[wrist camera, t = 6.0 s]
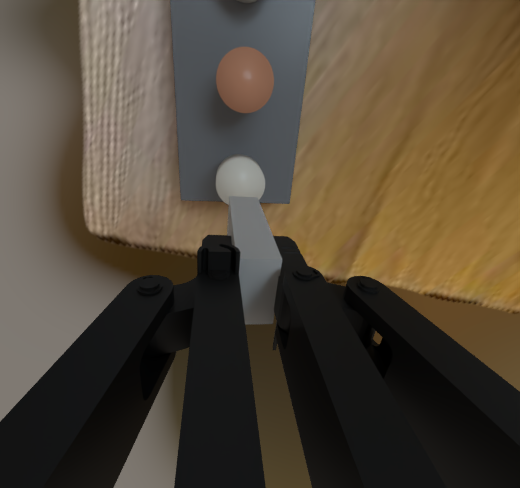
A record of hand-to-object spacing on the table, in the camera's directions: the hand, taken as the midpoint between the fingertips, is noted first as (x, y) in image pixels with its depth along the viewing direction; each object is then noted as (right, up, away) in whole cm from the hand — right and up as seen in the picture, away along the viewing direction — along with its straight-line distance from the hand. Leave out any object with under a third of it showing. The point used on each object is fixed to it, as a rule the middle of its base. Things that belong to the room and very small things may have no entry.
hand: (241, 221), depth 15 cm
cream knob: (-2, +7, +17) cm, 18 cm away
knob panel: (-1, +16, +15) cm, 22 cm away
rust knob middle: (-1, +15, +13) cm, 19 cm away
